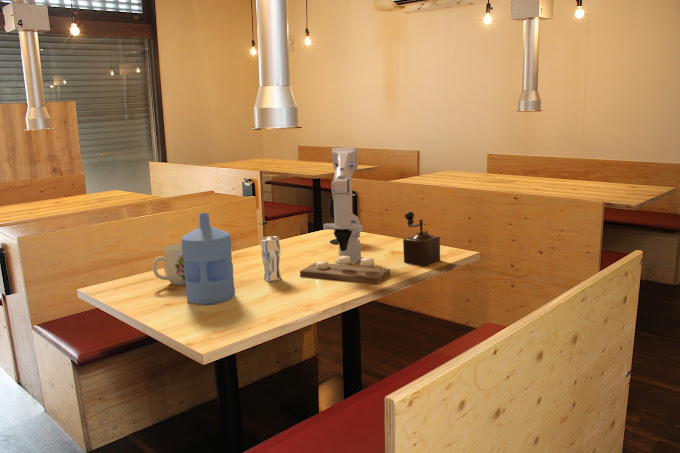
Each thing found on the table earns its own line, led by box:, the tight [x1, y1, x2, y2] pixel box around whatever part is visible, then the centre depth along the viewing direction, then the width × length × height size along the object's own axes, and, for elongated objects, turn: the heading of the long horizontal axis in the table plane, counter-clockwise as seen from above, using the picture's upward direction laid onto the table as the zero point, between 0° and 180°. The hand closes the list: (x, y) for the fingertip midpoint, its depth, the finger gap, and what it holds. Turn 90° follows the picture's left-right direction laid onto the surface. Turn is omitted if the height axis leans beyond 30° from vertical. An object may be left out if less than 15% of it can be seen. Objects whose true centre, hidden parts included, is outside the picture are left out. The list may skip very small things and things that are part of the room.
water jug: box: [181, 212, 236, 306], centre depth 199 cm, size 16×16×28 cm
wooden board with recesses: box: [299, 262, 391, 285], centre depth 221 cm, size 12×30×2 cm, turn 64°
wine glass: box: [327, 196, 339, 246], centre depth 271 cm, size 10×10×20 cm
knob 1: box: [315, 260, 329, 270], centre depth 224 cm, size 5×5×2 cm
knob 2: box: [336, 256, 351, 265], centre depth 220 cm, size 5×5×2 cm
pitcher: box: [152, 242, 186, 286], centre depth 219 cm, size 11×18×14 cm, turn 132°
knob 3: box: [359, 257, 375, 267], centre depth 216 cm, size 5×5×2 cm
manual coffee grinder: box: [402, 211, 441, 267], centre depth 235 cm, size 16×11×18 cm
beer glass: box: [260, 235, 282, 282], centre depth 219 cm, size 7×7×15 cm
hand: (343, 250), depth 219 cm, fingers closed
